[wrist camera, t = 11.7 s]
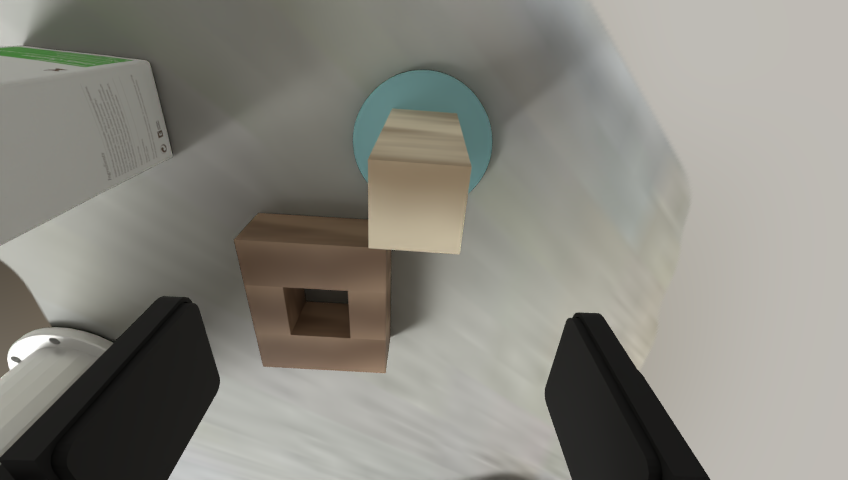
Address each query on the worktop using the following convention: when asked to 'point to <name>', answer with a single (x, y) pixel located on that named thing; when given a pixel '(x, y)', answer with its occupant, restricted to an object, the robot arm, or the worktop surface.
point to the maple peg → (418, 183)
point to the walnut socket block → (316, 269)
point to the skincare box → (71, 131)
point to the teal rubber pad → (425, 95)
